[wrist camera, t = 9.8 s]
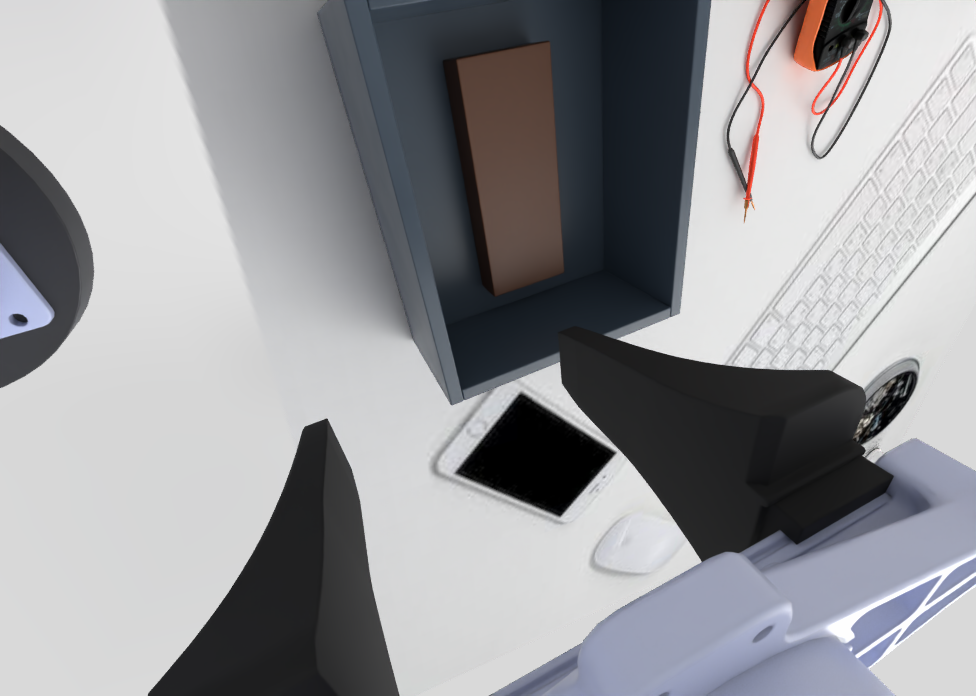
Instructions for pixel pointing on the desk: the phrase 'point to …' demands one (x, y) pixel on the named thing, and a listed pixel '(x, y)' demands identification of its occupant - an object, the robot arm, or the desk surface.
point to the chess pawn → (874, 455)
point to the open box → (580, 154)
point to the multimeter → (818, 58)
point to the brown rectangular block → (509, 162)
